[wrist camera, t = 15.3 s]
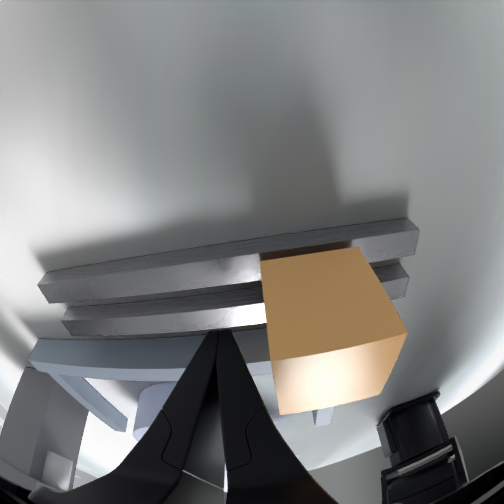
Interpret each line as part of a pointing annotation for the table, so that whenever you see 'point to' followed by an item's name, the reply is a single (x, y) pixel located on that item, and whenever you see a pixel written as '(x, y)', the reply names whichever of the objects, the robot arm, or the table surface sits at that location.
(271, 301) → the tan wooden cube
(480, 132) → the table surface
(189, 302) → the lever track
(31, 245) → the table surface
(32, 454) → the press bed
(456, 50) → the table surface
